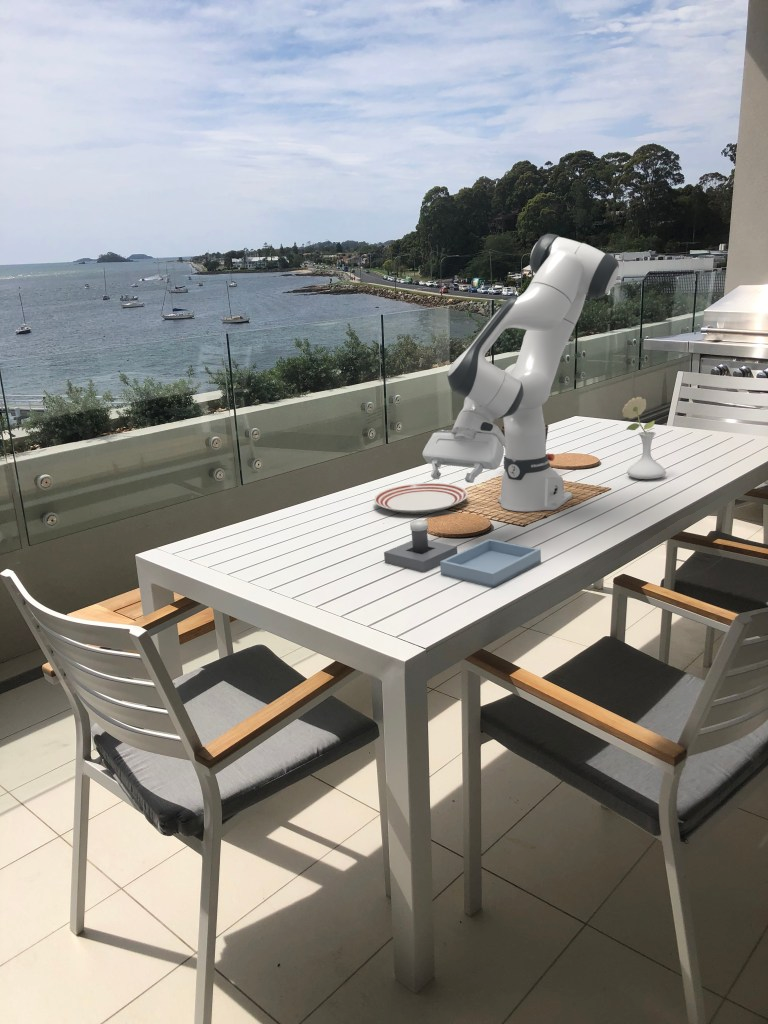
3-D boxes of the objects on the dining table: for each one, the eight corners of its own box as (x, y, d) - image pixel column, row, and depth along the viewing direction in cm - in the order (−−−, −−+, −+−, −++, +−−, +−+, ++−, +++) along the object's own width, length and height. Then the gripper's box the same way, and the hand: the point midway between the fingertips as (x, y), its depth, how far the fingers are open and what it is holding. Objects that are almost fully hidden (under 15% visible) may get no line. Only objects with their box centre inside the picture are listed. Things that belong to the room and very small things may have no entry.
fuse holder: (418, 547, 184) (418, 538, 183) (457, 556, 176) (457, 546, 175) (384, 562, 176) (384, 552, 175) (424, 572, 168) (423, 561, 167)
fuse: (420, 555, 179) (418, 519, 176) (433, 558, 176) (431, 521, 174) (409, 560, 176) (406, 523, 174) (422, 563, 173) (419, 526, 171)
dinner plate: (463, 518, 206) (462, 506, 205) (365, 519, 212) (364, 508, 211) (472, 492, 232) (472, 481, 231) (385, 493, 237) (384, 483, 236)
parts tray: (489, 551, 178) (489, 539, 177) (540, 562, 169) (540, 549, 168) (440, 574, 166) (440, 561, 165) (493, 587, 156) (492, 573, 156)
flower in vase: (660, 472, 237) (662, 392, 231) (670, 481, 227) (672, 397, 220) (617, 474, 239) (618, 395, 232) (625, 483, 228) (626, 400, 221)
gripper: (429, 422, 188) (409, 468, 184) (503, 426, 176) (483, 476, 172) (440, 436, 193) (420, 482, 188) (512, 441, 181) (493, 490, 176)
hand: (451, 479), depth 180 cm, fingers open, 8 cm apart
